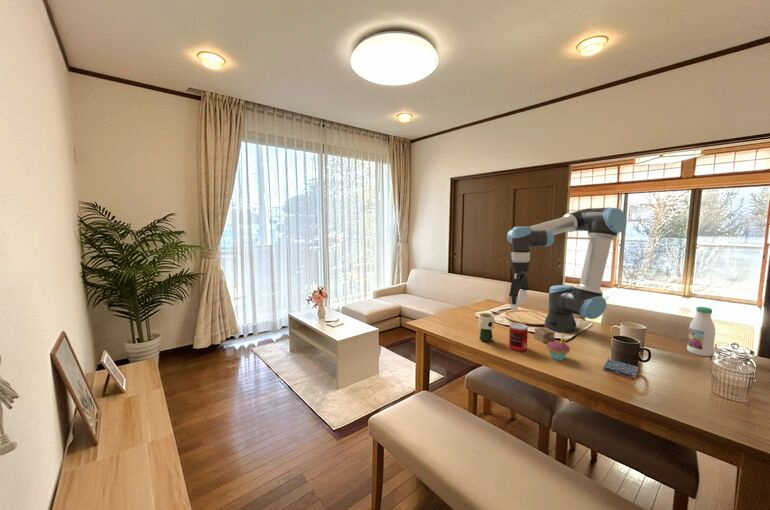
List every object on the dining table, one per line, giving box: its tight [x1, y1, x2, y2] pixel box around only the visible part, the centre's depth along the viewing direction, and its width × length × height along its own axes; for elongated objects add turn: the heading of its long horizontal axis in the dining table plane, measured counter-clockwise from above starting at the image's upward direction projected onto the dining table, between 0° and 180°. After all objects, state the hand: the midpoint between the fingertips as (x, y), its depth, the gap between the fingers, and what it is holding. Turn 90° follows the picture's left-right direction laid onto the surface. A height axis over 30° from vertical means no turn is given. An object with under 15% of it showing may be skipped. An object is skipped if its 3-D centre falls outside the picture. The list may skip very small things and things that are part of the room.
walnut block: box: [534, 327, 555, 344], centre depth 147 cm, size 6×6×5 cm
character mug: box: [478, 312, 495, 342], centre depth 148 cm, size 11×7×13 cm, turn 136°
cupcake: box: [545, 332, 571, 361], centre depth 128 cm, size 9×8×12 cm
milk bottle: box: [686, 306, 716, 357], centre depth 128 cm, size 8×8×20 cm
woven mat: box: [602, 358, 639, 380], centre depth 118 cm, size 10×11×2 cm
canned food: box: [508, 322, 529, 353], centre depth 139 cm, size 8×8×11 cm
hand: (518, 307), depth 137 cm, fingers open, 13 cm apart
